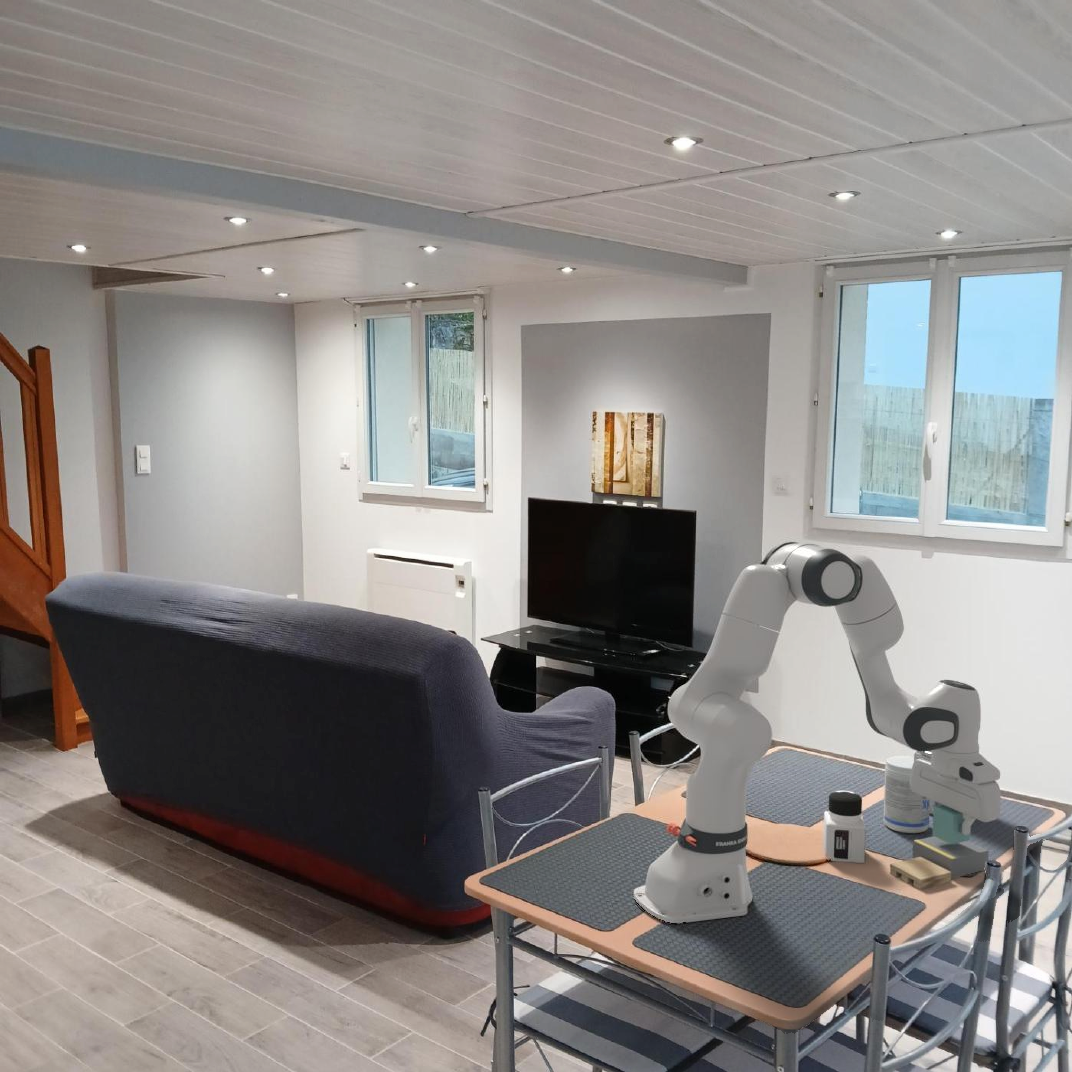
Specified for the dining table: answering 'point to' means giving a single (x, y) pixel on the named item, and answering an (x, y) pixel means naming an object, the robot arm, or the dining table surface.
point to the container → (844, 828)
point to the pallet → (920, 872)
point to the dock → (952, 855)
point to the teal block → (948, 825)
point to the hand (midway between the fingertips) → (951, 827)
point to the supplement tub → (903, 798)
